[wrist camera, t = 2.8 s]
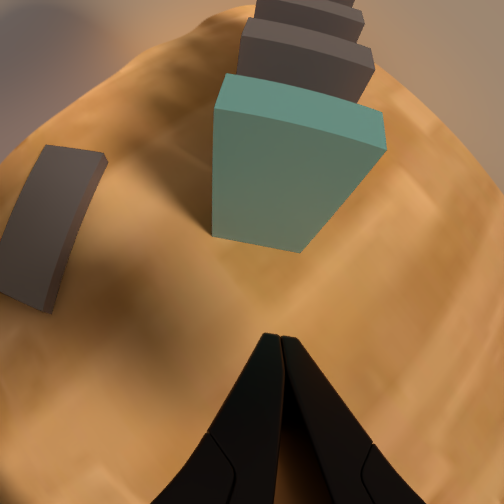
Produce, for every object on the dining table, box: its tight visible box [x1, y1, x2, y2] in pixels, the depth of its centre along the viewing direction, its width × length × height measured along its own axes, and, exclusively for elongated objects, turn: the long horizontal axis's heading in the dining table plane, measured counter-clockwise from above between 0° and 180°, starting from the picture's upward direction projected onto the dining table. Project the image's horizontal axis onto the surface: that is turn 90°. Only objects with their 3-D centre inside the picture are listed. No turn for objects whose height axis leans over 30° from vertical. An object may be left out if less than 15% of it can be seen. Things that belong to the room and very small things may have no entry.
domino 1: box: [0, 145, 108, 314], centre depth 16 cm, size 10×5×2 cm, turn 168°
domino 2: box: [254, 0, 365, 43], centre depth 15 cm, size 2×5×10 cm, turn 81°
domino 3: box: [236, 17, 375, 104], centre depth 14 cm, size 2×5×10 cm, turn 81°
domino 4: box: [212, 73, 387, 253], centre depth 13 cm, size 2×5×10 cm, turn 81°
